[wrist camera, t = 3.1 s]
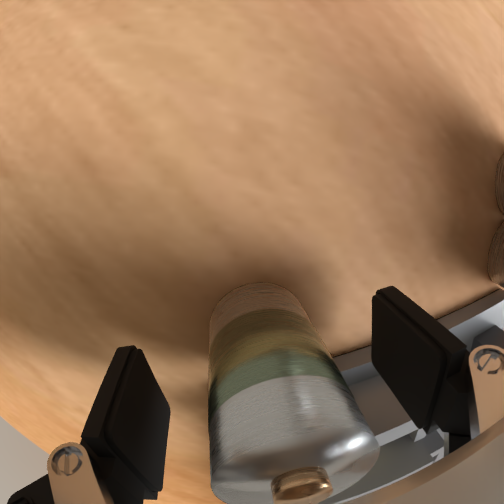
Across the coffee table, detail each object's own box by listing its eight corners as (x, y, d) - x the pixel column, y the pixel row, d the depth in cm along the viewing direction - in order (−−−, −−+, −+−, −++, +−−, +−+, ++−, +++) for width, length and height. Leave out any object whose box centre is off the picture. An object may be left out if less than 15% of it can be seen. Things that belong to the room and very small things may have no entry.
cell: (197, 294, 10) (182, 476, 4) (298, 271, 10) (403, 422, 4) (222, 371, 11) (235, 533, 5) (309, 351, 12) (377, 498, 5)
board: (222, 384, 12) (227, 460, 8) (500, 288, 12) (546, 317, 9) (283, 529, 19) (291, 559, 15) (430, 476, 20) (444, 500, 16)
